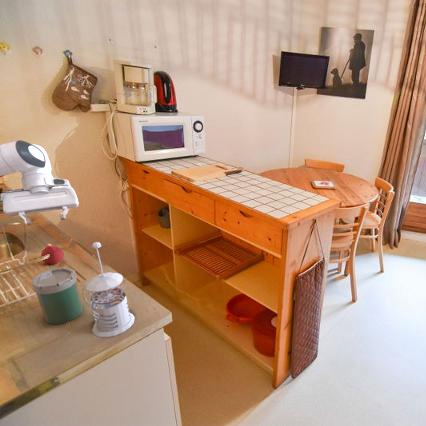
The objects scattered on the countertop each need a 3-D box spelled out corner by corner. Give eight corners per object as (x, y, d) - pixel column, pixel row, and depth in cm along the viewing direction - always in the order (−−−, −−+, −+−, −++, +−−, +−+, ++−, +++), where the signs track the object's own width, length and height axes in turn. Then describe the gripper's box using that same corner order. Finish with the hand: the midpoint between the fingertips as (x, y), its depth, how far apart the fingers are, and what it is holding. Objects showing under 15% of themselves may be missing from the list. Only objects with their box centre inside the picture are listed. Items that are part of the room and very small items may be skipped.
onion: (66, 258, 112) (60, 238, 109) (65, 266, 108) (59, 245, 105) (45, 262, 109) (38, 242, 106) (43, 270, 105) (36, 249, 101)
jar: (38, 328, 82) (25, 289, 77) (49, 306, 90) (37, 270, 85) (80, 320, 86) (70, 283, 81) (87, 300, 93) (78, 264, 89)
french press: (115, 340, 81) (96, 256, 71) (76, 331, 82) (52, 247, 73) (142, 315, 89) (128, 236, 80) (107, 307, 91) (89, 229, 82)
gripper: (-4, 186, 105) (2, 224, 102) (73, 179, 117) (80, 212, 114) (2, 195, 110) (8, 231, 107) (75, 187, 122) (82, 219, 119)
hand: (46, 221), depth 110 cm, fingers open, 8 cm apart
